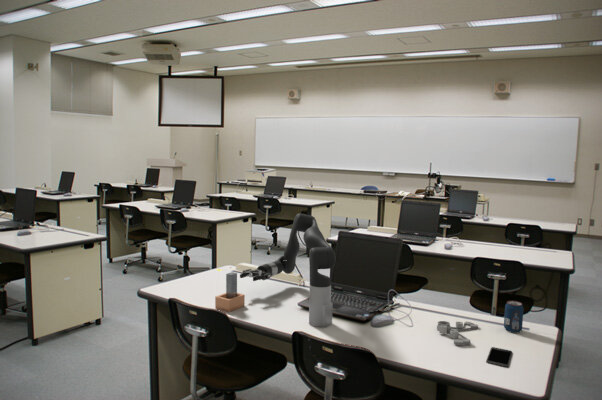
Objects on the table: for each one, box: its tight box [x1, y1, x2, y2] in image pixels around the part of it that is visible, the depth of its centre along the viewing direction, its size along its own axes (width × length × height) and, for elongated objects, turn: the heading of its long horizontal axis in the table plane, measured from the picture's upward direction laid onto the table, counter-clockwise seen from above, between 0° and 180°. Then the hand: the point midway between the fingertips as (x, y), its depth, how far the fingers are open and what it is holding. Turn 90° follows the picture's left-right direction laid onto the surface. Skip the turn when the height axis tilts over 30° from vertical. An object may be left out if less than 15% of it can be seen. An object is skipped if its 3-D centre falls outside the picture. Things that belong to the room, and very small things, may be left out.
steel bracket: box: [225, 271, 238, 299], centre depth 204 cm, size 4×6×15 cm
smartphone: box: [485, 346, 513, 369], centre depth 157 cm, size 7×15×1 cm, turn 149°
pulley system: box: [436, 320, 479, 346], centre depth 179 cm, size 27×5×15 cm
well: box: [214, 292, 246, 313], centre depth 204 cm, size 9×10×6 cm
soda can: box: [503, 300, 524, 334], centre depth 181 cm, size 7×7×12 cm
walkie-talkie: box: [383, 302, 401, 312], centre depth 206 cm, size 9×4×20 cm
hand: (246, 277), depth 214 cm, fingers open, 8 cm apart
